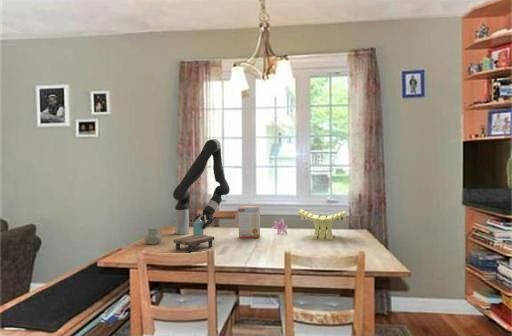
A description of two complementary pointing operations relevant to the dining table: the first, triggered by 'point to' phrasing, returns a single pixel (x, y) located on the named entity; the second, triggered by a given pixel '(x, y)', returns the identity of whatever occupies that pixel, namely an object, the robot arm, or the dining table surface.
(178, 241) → the small wooden table
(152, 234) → the air freshener
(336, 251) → the dining table surface
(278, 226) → the lily
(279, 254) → the dining table surface
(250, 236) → the cracker box
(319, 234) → the slatted curved stool
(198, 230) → the teal post
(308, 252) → the dining table surface
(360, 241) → the dining table surface
